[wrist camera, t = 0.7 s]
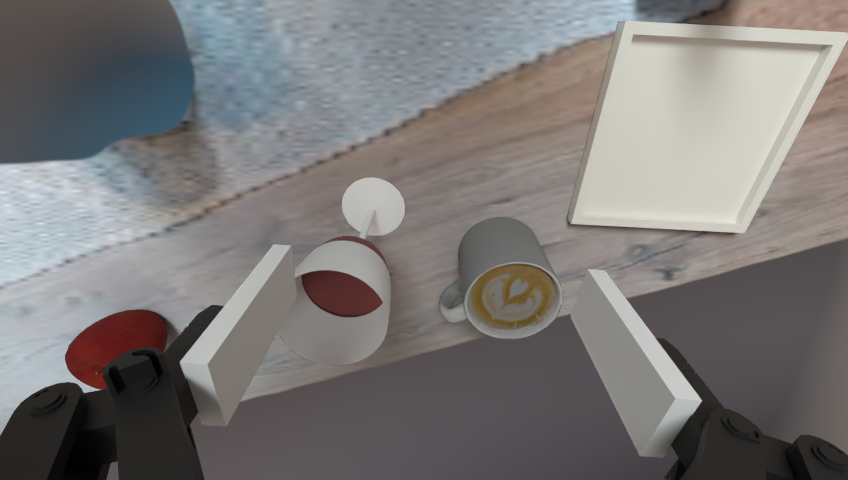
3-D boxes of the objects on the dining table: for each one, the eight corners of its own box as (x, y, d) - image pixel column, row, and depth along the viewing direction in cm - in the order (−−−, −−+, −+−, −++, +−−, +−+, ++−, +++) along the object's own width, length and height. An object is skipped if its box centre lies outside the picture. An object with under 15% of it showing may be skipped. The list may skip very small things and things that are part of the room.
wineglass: (418, 187, 41) (405, 293, 24) (392, 248, 45) (366, 377, 28) (351, 162, 40) (286, 253, 22) (331, 226, 44) (263, 347, 26)
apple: (174, 355, 55) (125, 413, 47) (109, 329, 53) (44, 385, 44) (191, 315, 51) (141, 370, 43) (121, 285, 49) (53, 337, 40)
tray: (618, 21, 33) (625, 20, 32) (834, 33, 33) (851, 32, 32) (566, 218, 43) (570, 223, 41) (734, 227, 43) (744, 233, 41)
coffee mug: (526, 205, 42) (550, 247, 33) (546, 271, 46) (572, 324, 38) (420, 242, 45) (417, 290, 36) (448, 301, 49) (452, 357, 40)
